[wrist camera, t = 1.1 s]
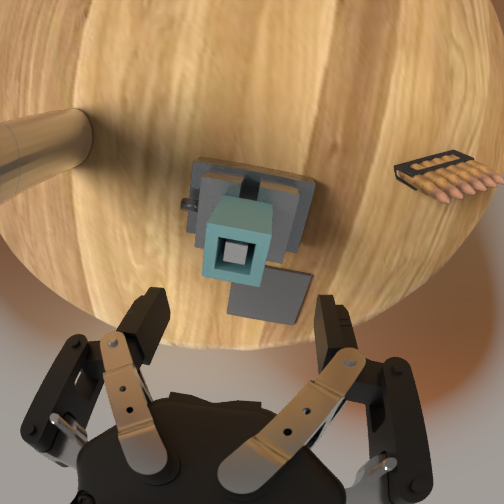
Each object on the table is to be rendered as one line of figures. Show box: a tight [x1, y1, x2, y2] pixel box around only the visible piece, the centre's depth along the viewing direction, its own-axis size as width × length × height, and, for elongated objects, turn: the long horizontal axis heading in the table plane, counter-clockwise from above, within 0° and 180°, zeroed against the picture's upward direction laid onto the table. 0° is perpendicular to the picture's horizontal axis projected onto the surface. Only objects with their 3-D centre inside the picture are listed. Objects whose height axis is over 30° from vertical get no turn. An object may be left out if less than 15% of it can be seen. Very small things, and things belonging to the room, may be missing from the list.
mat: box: [227, 265, 311, 325], centre depth 41 cm, size 11×10×1 cm
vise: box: [181, 157, 316, 265], centre depth 28 cm, size 14×9×14 cm, turn 80°
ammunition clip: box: [394, 150, 504, 204], centre depth 24 cm, size 11×2×12 cm, turn 112°
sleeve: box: [202, 195, 273, 287], centre depth 25 cm, size 5×5×7 cm
